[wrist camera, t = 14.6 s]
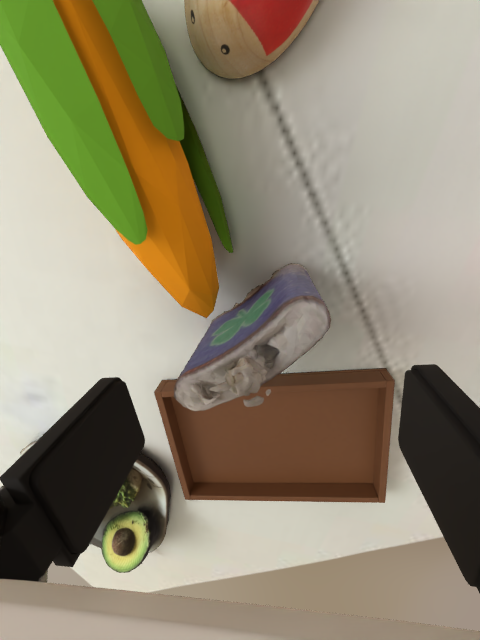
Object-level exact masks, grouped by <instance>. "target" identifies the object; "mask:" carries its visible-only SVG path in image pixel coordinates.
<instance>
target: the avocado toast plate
mask: <svg viewBox="0 0 480 640" xmlns="http://www.w3.org/2000/svg"><path fill="white" fill-rule="evenodd" d="M36 442H37V441H34V442H32V443H31V444H29V445H28V446H27V447H25V448H24V449H22V451H21V452H20V457H21V456H22V455H23V454H24V453H25V452H26V451H27V450H28V449H29V448H30V447H31V446H32V445H34V444H35V443H36ZM4 487H5V486H2V487H1V488H0V491H1V490H2V489H3V488H4ZM170 497H171V495H170V488H169V483H168V481H167V479H166V478H165V475H164V473H163V472H162V470H161V468H160V467H159V466H158V465H157V464H156V463H155V462H154V461H152V460H151V459H149V458H148V457H146V456H144V455H142V454H140V455H139V456H138V458H137V460H136V462H135V464H134V465H133V467H132V469H131V471H130V473H129V474H128V476H127V478H126V480H125V481H124V483H123V485H122V487H121V489H120V490H119V492H118V494H117V496H116V498H115V499H114V501H113V503H112V505H111V507H110V508H109V510H108V512H107V514H106V515H105V517H104V519H103V521H102V523H101V524H100V526H99V528H98V530H97V532H96V533H95V535H94V537H93V539H92V540H91V542H90V544H92V545H95V546H97V547H100V548H101V549H102V554H103V557H104V559H105V561H106V563H107V565H108V566H109V567H110V568H112V569H113V570H114V571H117V572H119V573H121V572H123V573H125V572H130V571H131V570H133V569H135V568H136V567H138V566H139V565H140V564H142V562H143V561H144V559H145V558H146V556H147V555H148V553H150V552H152V551H154V550H155V549H157V548H158V547H159V546H160V544H161V543H162V541H163V539H164V537H165V534H166V527H167V523H168V512H169V503H170Z"/></svg>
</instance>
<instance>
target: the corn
mask: <svg viewBox="0 0 480 640" xmlns="http://www.w3.org/2000/svg"><path fill="white" fill-rule="evenodd" d="M0 45H1V47H2V49H3V51H4V53H5V55H6V57H7V59H8V61H9V63H10V65H11V67H12V69H13V71H14V73H15V75H16V76H17V78H18V80H19V82H20V84H21V86H22V88H23V90H24V92H25V94H26V96H27V98H28V100H29V102H30V104H31V106H32V108H33V109H34V111H35V113H36V115H37V117H38V119H39V121H40V123H41V125H42V127H43V129H44V131H45V133H46V135H47V137H48V138H49V140H50V141H51V143H52V144H53V146H54V147H55V149H56V150H57V152H58V153H59V155H60V156H61V158H62V159H63V161H64V162H65V164H66V165H67V167H68V168H69V170H70V171H71V173H72V174H73V176H74V177H75V179H76V180H77V182H78V183H79V185H80V187H81V188H82V190H83V191H84V193H85V194H86V196H87V197H88V198H89V199H90V200H91V202H92V203H93V204H94V205H95V206H96V207H97V208H98V210H99V211H100V212H101V213H102V214H103V215H104V216H105V217H106V219H107V220H108V221H109V222H110V223H111V224H112V225H113V227H114V228H115V229H116V231H117V232H118V234H119V236H120V237H121V238H122V240H123V241H124V242H125V243H126V244H127V246H128V247H129V248H130V249H131V250H132V252H133V253H134V254H135V255H136V256H137V258H138V259H139V260H140V261H141V262H142V264H143V265H144V266H145V267H146V268H147V270H148V271H149V272H150V273H151V274H152V275H153V276H154V277H155V278H156V279H157V280H158V281H159V283H160V284H161V285H162V286H163V287H164V288H165V289H166V290H167V291H168V292H169V293H170V294H171V295H172V297H173V298H174V299H175V300H176V301H177V302H178V303H179V304H180V305H181V306H182V307H184V308H186V309H188V310H190V311H192V312H195V313H197V314H199V315H201V316H203V317H205V318H207V317H208V316H209V315H210V314H211V313H212V312H213V310H214V306H215V302H216V298H217V294H218V290H219V283H218V277H217V270H216V264H215V258H214V251H213V245H212V240H211V236H210V233H209V230H208V226H207V223H206V220H205V217H204V213H203V210H202V207H201V204H200V200H199V197H198V194H197V190H196V187H195V184H196V186H197V188H198V190H199V192H200V195H201V197H202V199H203V201H204V203H205V205H206V208H207V210H208V212H209V215H210V217H211V219H212V222H213V224H214V226H215V229H216V231H217V234H218V236H219V238H220V240H221V242H222V244H223V246H224V248H225V249H226V250H227V251H228V252H229V253H233V248H232V243H231V238H230V233H229V228H228V224H227V220H226V216H225V212H224V207H223V203H222V199H221V196H220V193H219V190H218V188H217V185H216V182H215V180H214V177H213V174H212V171H211V169H210V166H209V163H208V161H207V158H206V155H205V153H204V150H203V147H202V144H201V142H200V139H199V136H198V134H197V131H196V129H195V127H194V125H193V122H192V120H191V118H190V116H189V113H188V111H187V109H186V107H185V104H184V102H183V100H182V98H181V95H180V93H179V91H178V89H177V86H176V84H175V82H174V78H173V75H172V72H171V69H170V66H169V62H168V59H167V56H166V53H165V50H164V48H163V46H162V44H161V41H160V39H159V37H158V35H157V33H156V31H155V29H154V26H153V24H152V22H151V20H150V18H149V16H148V14H147V11H146V9H145V7H144V5H143V3H142V1H141V0H0ZM193 180H194V181H193ZM194 182H195V184H194Z"/></svg>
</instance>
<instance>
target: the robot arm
mask: <svg viewBox="0 0 480 640" xmlns="http://www.w3.org/2000/svg"><path fill="white" fill-rule="evenodd" d="M398 440H399V446H400V449H401V451H402V453H403V455H404V457H405V459H406V461H407V464H408V466H409V468H410V470H411V472H412V474H413V476H414V478H415V480H416V482H417V484H418V486H419V488H420V490H421V492H422V494H423V496H424V498H425V500H426V502H427V504H428V506H429V508H430V510H431V512H432V514H433V516H434V518H435V520H436V522H437V524H438V526H439V528H440V530H441V532H442V534H443V536H444V538H445V540H446V542H447V544H448V546H449V548H450V550H451V552H452V554H453V556H454V558H455V560H456V562H457V564H458V566H459V568H460V570H461V572H462V574H463V576H464V578H465V580H466V581H467V582H468V584H469V585H470V586H475V587H477V589H478V591H479V593H480V408H479V407H478V406H477V405H476V404H475V403H474V402H473V401H472V400H471V399H470V398H469V397H468V396H467V395H466V394H465V393H464V392H463V391H462V390H461V389H460V388H459V387H458V386H457V385H456V384H455V383H454V382H453V381H452V380H451V379H450V378H449V377H448V376H447V375H446V374H445V373H444V372H443V371H442V369H441V368H440V367H438V366H437V365H434V364H432V365H414V366H412V368H411V370H407V371H406V373H405V379H404V389H403V398H402V408H401V417H400V427H399V436H398ZM144 443H145V438H144V435H143V432H142V429H141V426H140V423H139V420H138V417H137V415H136V412H135V409H134V406H133V403H132V400H131V397H130V394H129V391H128V388H127V386H126V383H125V382H123V381H122V380H121V379H120V378H118V377H116V378H102V379H100V380H99V381H98V382H97V383H96V384H95V385H94V386H93V387H92V388H91V389H90V390H89V391H88V392H87V393H86V394H85V395H84V396H83V397H82V398H81V399H80V400H79V401H78V402H77V403H76V404H75V405H74V406H73V407H71V408H70V409H69V410H68V411H67V412H66V413H65V414H64V415H63V416H62V417H61V418H60V419H59V420H58V421H57V422H56V423H55V424H54V425H53V426H52V427H51V428H50V429H49V430H48V431H47V432H46V433H45V434H44V435H43V436H42V437H41V438H40V439H39V440H38V441H37V442H36V443H35V444H34V445H32V446H31V447H30V448H29V449H28V450H27V451H26V452H25V453H24V454H23V455H22V456H21V457H20V458H19V459H18V460H17V461H16V462H15V463H14V464H13V465H12V466H11V467H10V468H9V469H8V470H7V471H6V472H5V473H4V474H3V475H2V476H1V477H0V480H1V482H2V483H3V485H4V486H5V487H4V488H3V489H2V490H1V491H0V640H480V631H474V630H467V629H459V628H452V627H445V626H437V625H430V624H421V623H414V622H407V621H398V620H390V619H380V618H372V617H363V616H354V615H345V614H337V613H328V612H318V611H310V610H301V609H292V608H283V607H275V606H266V605H257V604H247V603H238V602H229V601H219V600H210V599H201V598H191V597H182V596H172V595H163V594H154V593H144V592H135V591H125V590H115V589H106V588H96V587H85V586H76V585H66V584H56V583H55V584H54V583H47V572H48V571H47V569H48V568H49V566H50V564H51V563H52V561H53V562H54V563H55V565H58V566H68V567H73V566H74V564H75V562H76V560H77V559H78V557H79V555H80V553H83V552H84V551H85V550H86V549H87V547H88V546H89V544H90V542H91V540H92V539H93V537H94V535H95V533H96V532H97V530H98V528H99V526H100V524H101V523H102V521H103V519H104V517H105V515H106V514H107V512H108V510H109V508H110V507H111V505H112V503H113V501H114V499H115V498H116V496H117V494H118V492H119V490H120V489H121V487H122V485H123V483H124V481H125V480H126V478H127V476H128V474H129V473H130V471H131V469H132V467H133V465H134V464H135V462H136V460H137V458H138V456H139V455H140V453H141V451H142V449H143V447H144Z"/></svg>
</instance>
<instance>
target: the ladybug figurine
mask: <svg viewBox="0 0 480 640" xmlns="http://www.w3.org/2000/svg"><path fill="white" fill-rule="evenodd" d="M318 2H319V0H184V3H185V17H186V24H187V29H188V33H189V37H190V41H191V44H192V47H193V49H194V51H195V53H196V55H197V57H198V58H199V60H200V61H201V63H202V64H203V65H204V66H205V67H206V68H207V69H208V70H210V71H211V72H212V73H214V74H216V75H218V76H220V77H224V78H230V79H234V78H242V77H246V76H249V75H251V74H254V73H256V72H258V71H260V70H261V69H263V68H265V67H266V66H268V65H269V64H271V63H272V62H273V61H274V60H276V59H277V58H278V57H279V56H280V55H281V54H282V53H283V52H284V51H285V50H286V49H287V48H288V47H289V45H290V44H291V43H292V42H293V41H294V39H295V38H296V37H297V35H298V34H299V33H300V31H301V30H302V29H303V27H304V26H305V24H306V23H307V21H308V20H309V18H310V16H311V14H312V13H313V11H314V9H315V7H316V6H317V4H318Z"/></svg>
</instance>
